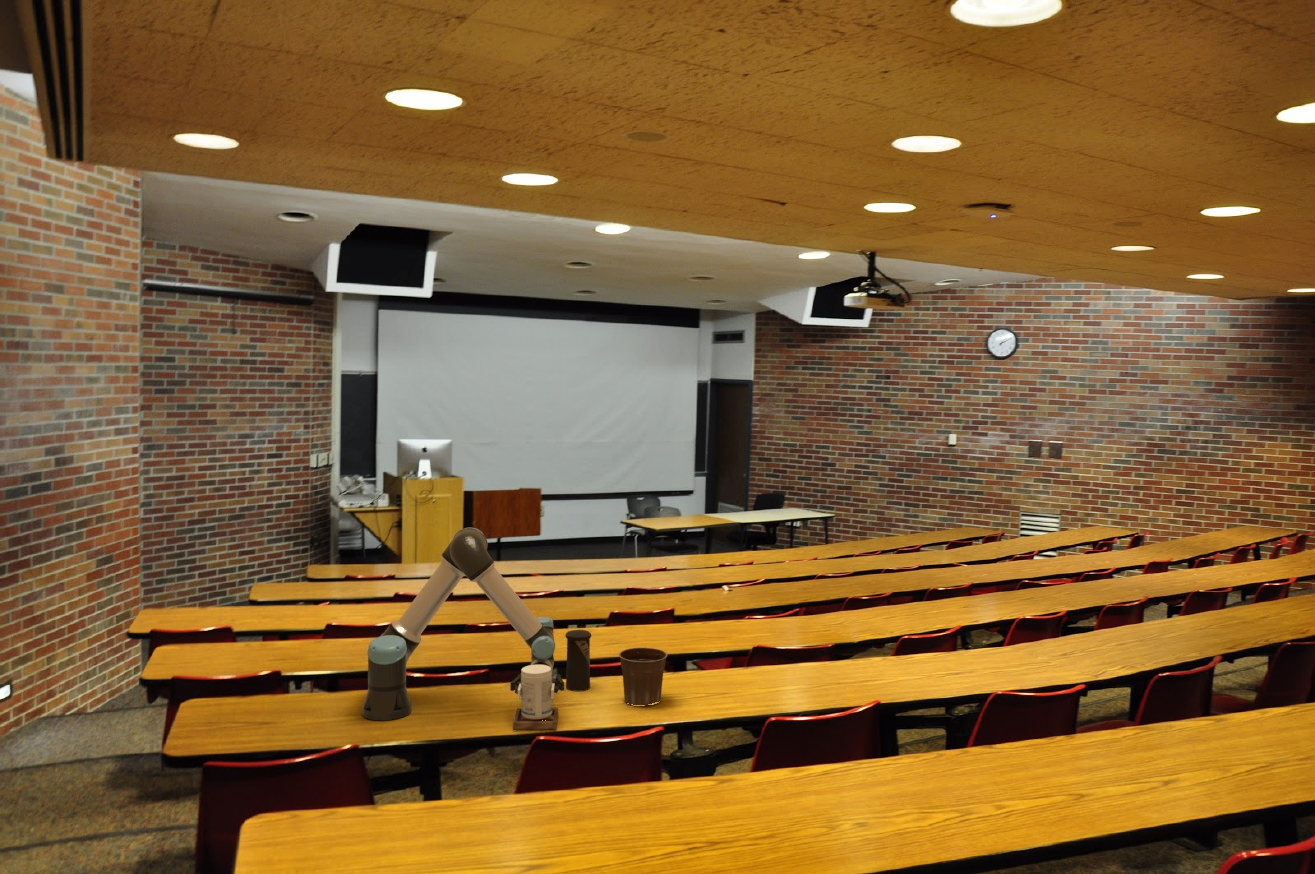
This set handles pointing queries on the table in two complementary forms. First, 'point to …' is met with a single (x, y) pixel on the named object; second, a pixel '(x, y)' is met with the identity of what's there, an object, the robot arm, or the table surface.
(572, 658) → the container
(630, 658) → the plant pot
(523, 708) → the supplement tub
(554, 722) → the holder tray
